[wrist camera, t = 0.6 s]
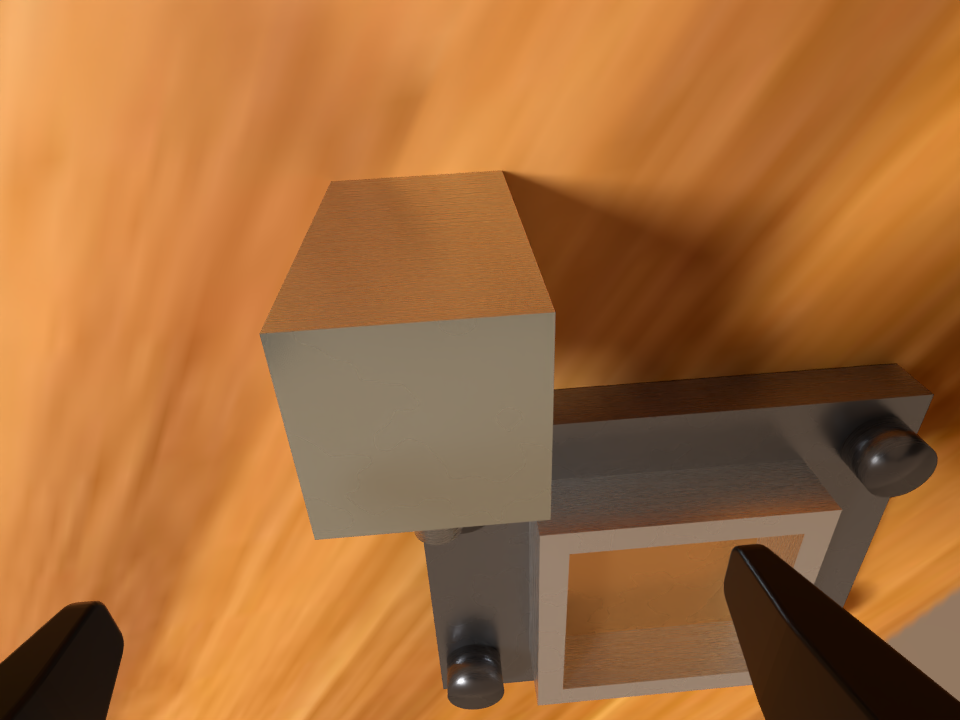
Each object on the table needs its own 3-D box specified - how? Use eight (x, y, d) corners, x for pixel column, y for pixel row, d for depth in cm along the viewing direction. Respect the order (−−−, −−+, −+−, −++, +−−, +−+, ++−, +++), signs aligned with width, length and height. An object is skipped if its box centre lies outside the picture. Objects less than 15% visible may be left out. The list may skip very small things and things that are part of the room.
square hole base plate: (896, 363, 23) (989, 441, 19) (801, 615, 31) (854, 706, 27) (410, 401, 22) (407, 489, 18) (442, 649, 30) (444, 745, 26)
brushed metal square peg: (502, 170, 18) (555, 311, 11) (506, 358, 22) (549, 566, 14) (331, 181, 18) (259, 333, 10) (363, 368, 21) (328, 585, 14)
